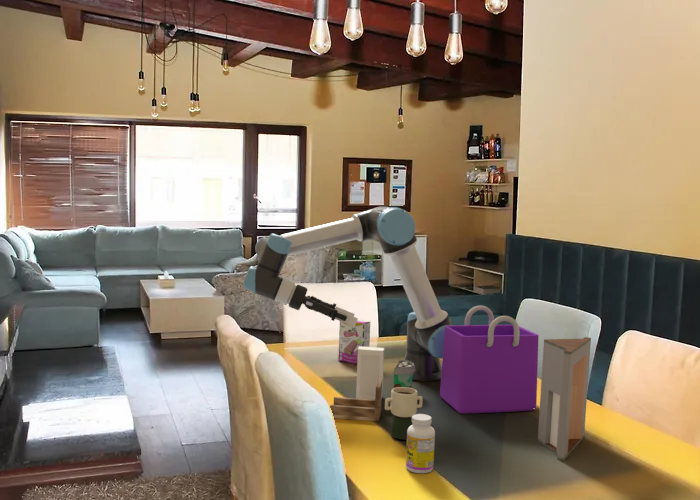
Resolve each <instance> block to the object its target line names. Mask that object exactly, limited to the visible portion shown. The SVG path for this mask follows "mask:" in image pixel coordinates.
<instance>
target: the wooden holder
mask: <svg viewBox="0 0 700 500" xmlns="http://www.w3.org/2000/svg"><path fill="white" fill-rule="evenodd" d="M381 399H383V390H382V379H378V381H377V385H376V395H375V400H372V399H358V398H356V397H355V398H354V397H341V396H334V397H333V404H330V405H329V409H330V408H331V410H332V413H333V416H334V418H333V419H342V420H355V421H357V420H358V421H369V422H379V421H380V417H381V413H382V400H381Z"/></svg>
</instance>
